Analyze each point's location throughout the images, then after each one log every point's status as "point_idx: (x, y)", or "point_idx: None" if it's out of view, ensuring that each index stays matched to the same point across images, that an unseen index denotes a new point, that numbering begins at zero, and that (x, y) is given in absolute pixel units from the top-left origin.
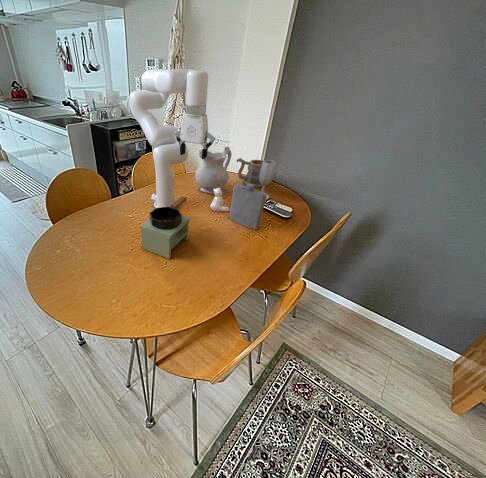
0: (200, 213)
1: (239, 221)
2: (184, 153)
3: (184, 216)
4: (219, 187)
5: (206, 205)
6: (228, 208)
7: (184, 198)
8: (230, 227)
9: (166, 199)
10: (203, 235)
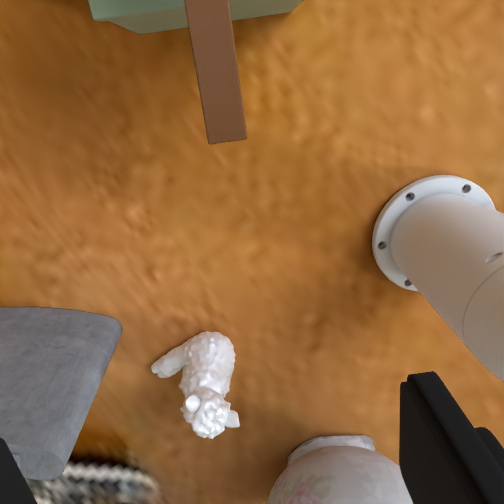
0: (244, 277)
1: (53, 314)
2: (402, 452)
3: (134, 7)
4: (277, 480)
5: (265, 350)
6: (155, 372)
7: (208, 116)
8: (64, 260)
9: (428, 223)
10: (106, 119)
